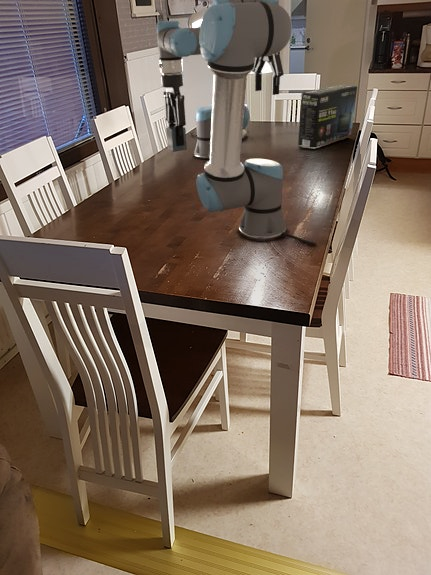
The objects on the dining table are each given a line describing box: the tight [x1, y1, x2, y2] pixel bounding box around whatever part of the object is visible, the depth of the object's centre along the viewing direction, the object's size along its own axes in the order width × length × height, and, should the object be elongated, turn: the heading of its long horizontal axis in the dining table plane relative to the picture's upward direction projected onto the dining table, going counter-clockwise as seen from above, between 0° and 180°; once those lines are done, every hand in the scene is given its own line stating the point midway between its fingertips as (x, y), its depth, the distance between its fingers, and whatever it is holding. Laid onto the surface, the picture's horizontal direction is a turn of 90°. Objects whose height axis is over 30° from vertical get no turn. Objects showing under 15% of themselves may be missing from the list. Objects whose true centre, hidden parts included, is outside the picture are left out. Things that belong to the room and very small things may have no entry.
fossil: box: [242, 127, 250, 139], centre depth 261 cm, size 18×11×15 cm
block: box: [165, 126, 188, 153], centre depth 165 cm, size 5×5×8 cm
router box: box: [297, 84, 358, 151], centre depth 238 cm, size 36×11×27 cm, turn 134°
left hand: (266, 92), depth 193 cm, fingers open, 13 cm apart
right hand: (177, 143), depth 166 cm, fingers closed on block, 5 cm apart
